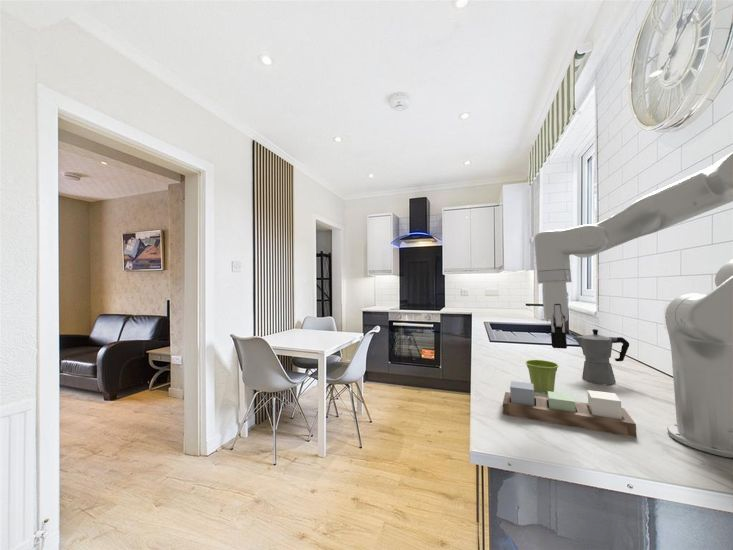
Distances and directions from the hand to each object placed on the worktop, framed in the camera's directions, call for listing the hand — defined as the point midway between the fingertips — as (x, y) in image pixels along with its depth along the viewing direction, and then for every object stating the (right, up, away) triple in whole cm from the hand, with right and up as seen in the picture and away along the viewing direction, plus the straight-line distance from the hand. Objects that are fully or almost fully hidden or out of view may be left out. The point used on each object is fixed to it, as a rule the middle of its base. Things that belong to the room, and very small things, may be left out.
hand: (559, 347), depth 75 cm
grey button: (-7, -16, +4) cm, 18 cm away
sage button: (0, -18, -1) cm, 18 cm away
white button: (+8, -16, -5) cm, 18 cm away
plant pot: (+7, -19, +19) cm, 28 cm away
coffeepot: (+32, -19, +26) cm, 45 cm away
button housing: (0, -18, -1) cm, 18 cm away
